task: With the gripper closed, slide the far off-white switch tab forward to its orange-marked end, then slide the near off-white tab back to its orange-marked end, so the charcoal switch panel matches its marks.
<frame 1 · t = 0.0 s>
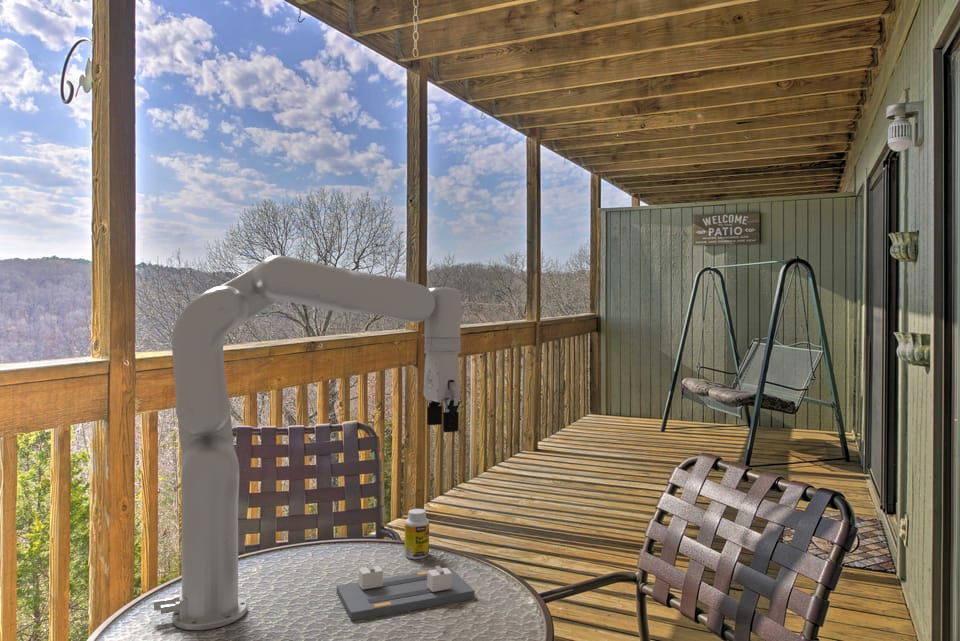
hand: (442, 428, 137), 31 cm above the table, tool pointing down, fingers open, 9 cm apart
switch panel: (404, 595, 128), on the table
tab far: (370, 575, 128), point 4 cm above the table, slide at 0.0 cm
supplement bottle: (416, 556, 150), on the table
tab near: (439, 578, 127), point 4 cm above the table, slide at 12.0 cm
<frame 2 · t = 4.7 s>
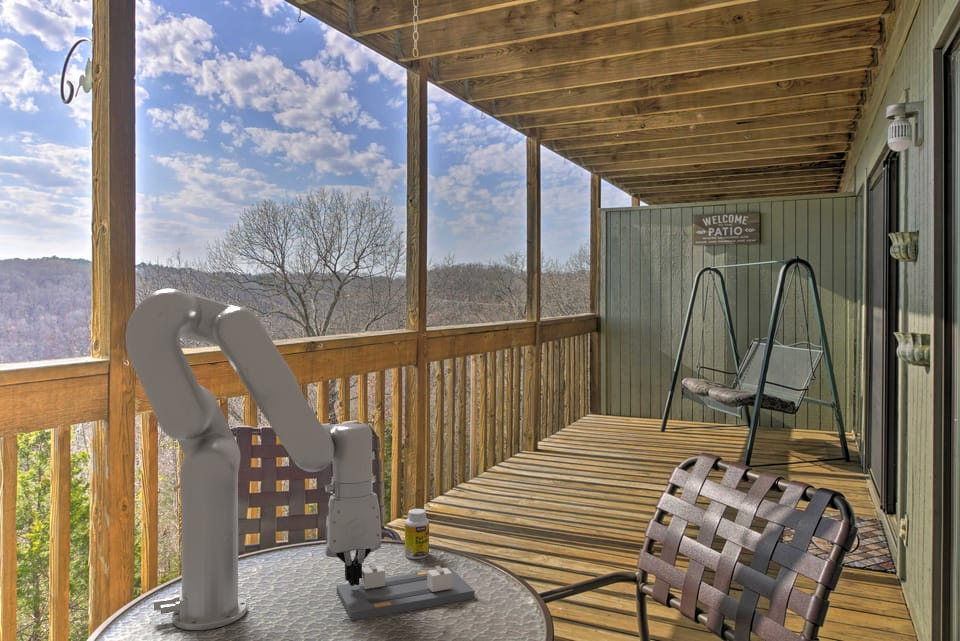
hand: (353, 582, 127), 3 cm above the table, tool pointing down, fingers closed
tab far: (373, 575, 129), point 4 cm above the table, slide at 0.5 cm, touching gripper
everything else where it was.
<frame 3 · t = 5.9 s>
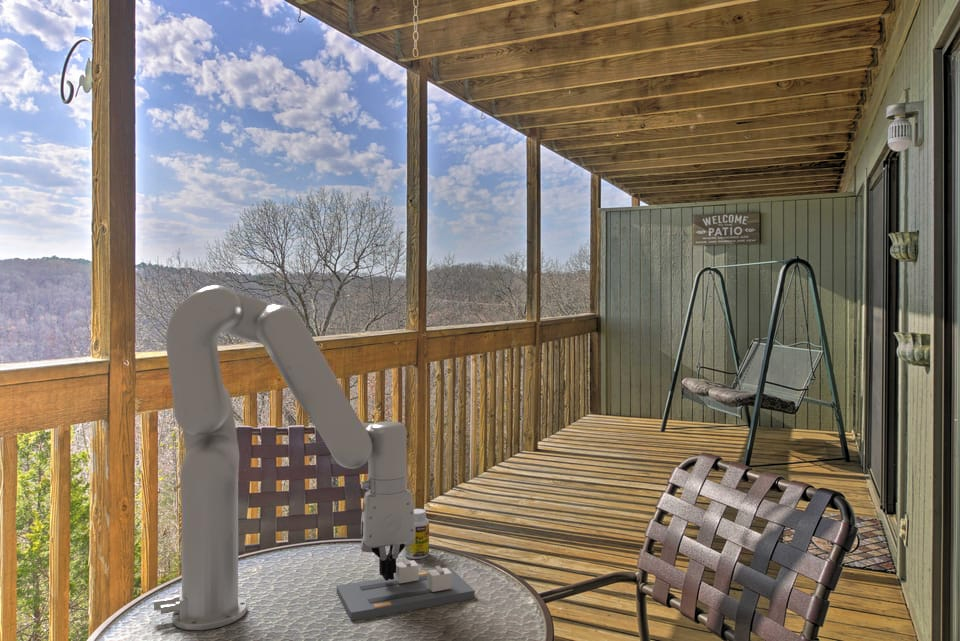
hand: (387, 577, 130), 3 cm above the table, tool pointing down, fingers closed
tab far: (406, 570, 131), point 4 cm above the table, slide at 7.3 cm, touching gripper
everything else where it was.
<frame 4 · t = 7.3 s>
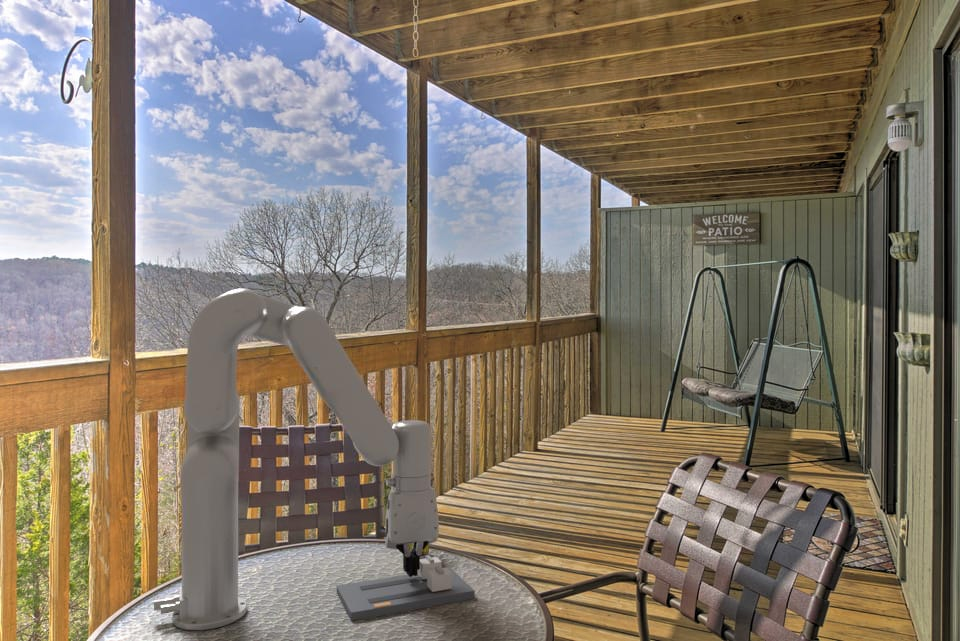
hand: (411, 573, 132), 3 cm above the table, tool pointing down, fingers closed
tab far: (429, 566, 133), point 4 cm above the table, slide at 12.2 cm, touching gripper
everything else where it was.
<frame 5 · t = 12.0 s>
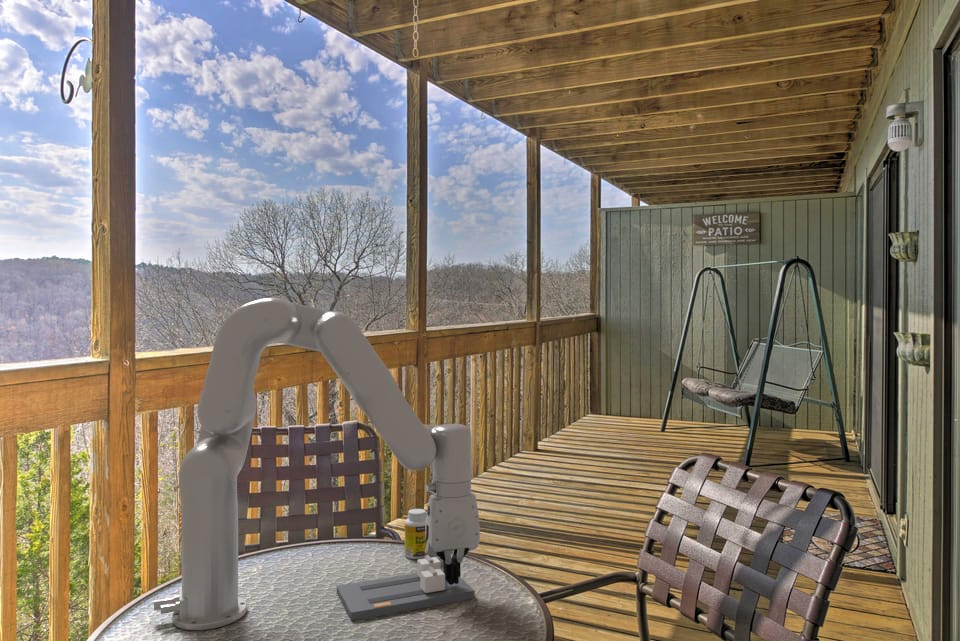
hand: (451, 581, 128), 3 cm above the table, tool pointing down, fingers closed
tab far: (428, 566, 133), point 4 cm above the table, slide at 12.1 cm
tab near: (432, 579, 127), point 4 cm above the table, slide at 10.6 cm, touching gripper
everything else where it was.
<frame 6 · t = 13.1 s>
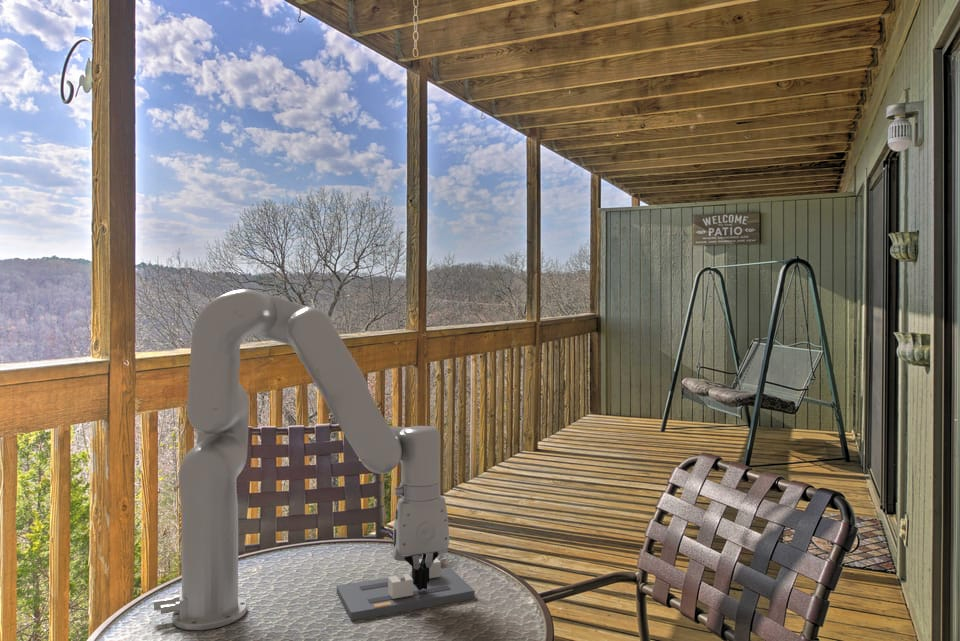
hand: (420, 586, 126), 3 cm above the table, tool pointing down, fingers closed
tab near: (400, 584, 124), point 4 cm above the table, slide at 4.1 cm, touching gripper
everything else where it was.
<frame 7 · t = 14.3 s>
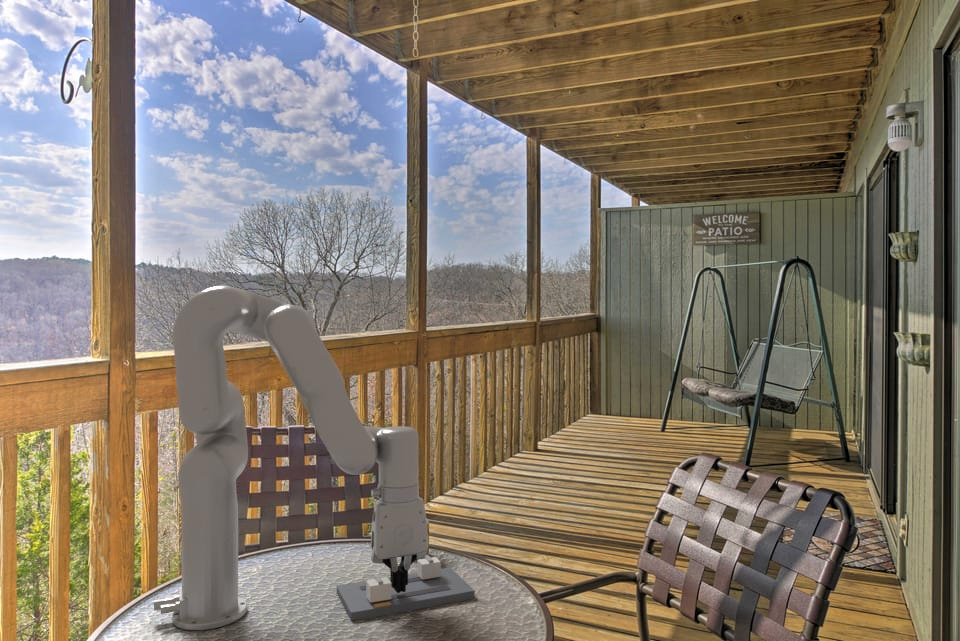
hand: (399, 589, 124), 3 cm above the table, tool pointing down, fingers closed
tab near: (378, 588, 123), point 4 cm above the table, slide at -0.1 cm, touching gripper
everything else where it was.
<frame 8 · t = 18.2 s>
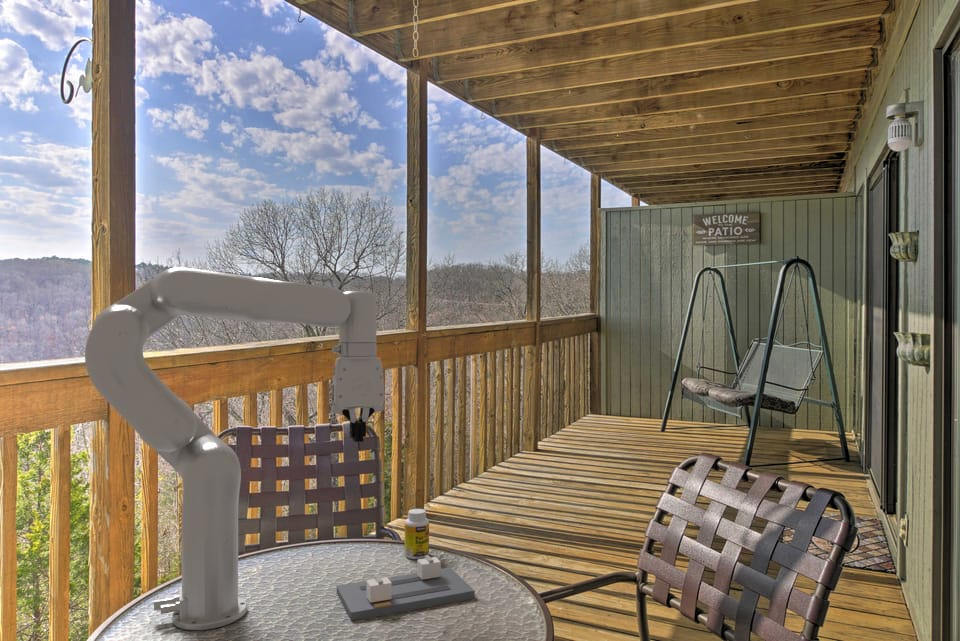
hand: (357, 440, 134), 29 cm above the table, tool pointing down, fingers closed
tab near: (378, 588, 123), point 4 cm above the table, slide at -0.1 cm
everything else where it was.
at the end: tab far slide at 12.1 cm; tab near slide at -0.1 cm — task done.
